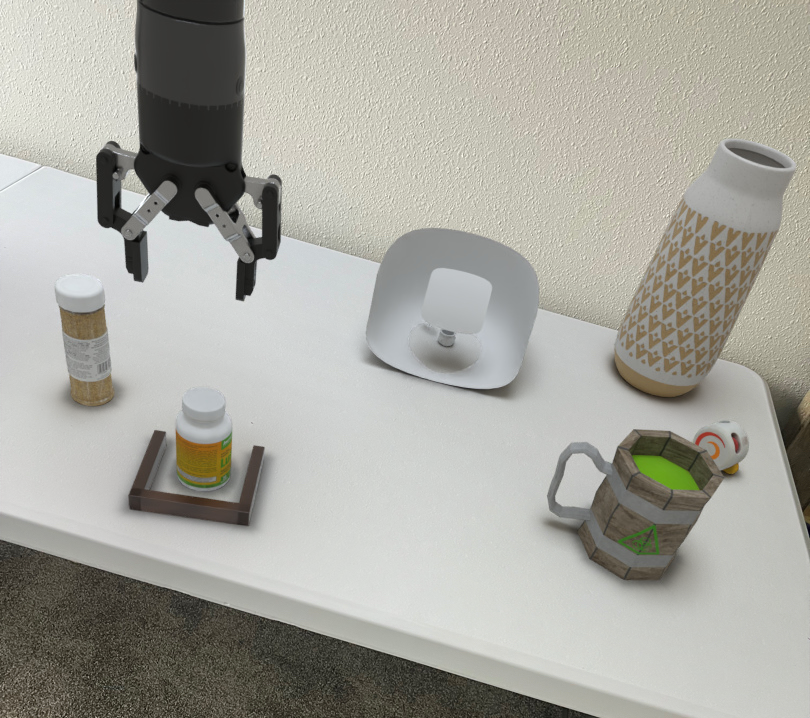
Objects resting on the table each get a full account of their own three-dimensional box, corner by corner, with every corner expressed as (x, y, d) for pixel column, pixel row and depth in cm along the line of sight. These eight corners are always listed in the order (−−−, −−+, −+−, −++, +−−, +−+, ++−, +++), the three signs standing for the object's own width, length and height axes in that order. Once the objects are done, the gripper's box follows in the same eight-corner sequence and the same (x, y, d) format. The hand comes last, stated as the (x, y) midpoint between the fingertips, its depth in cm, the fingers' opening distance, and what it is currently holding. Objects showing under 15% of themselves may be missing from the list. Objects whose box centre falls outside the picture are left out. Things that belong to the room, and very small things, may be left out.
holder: (129, 510, 75) (128, 495, 74) (155, 444, 82) (154, 429, 81) (248, 527, 76) (249, 512, 75) (263, 460, 84) (264, 446, 82)
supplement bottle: (228, 495, 79) (231, 419, 72) (173, 491, 78) (171, 413, 71) (232, 460, 83) (235, 384, 76) (179, 456, 82) (178, 378, 75)
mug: (672, 527, 88) (721, 445, 80) (674, 596, 81) (728, 513, 72) (538, 488, 89) (573, 402, 80) (527, 552, 81) (564, 465, 73)
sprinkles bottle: (95, 378, 88) (82, 267, 79) (123, 397, 87) (114, 286, 77) (61, 394, 85) (43, 280, 76) (89, 413, 84) (75, 300, 74)
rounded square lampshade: (520, 329, 114) (545, 252, 105) (510, 402, 100) (537, 320, 92) (387, 294, 114) (401, 214, 105) (358, 363, 100) (372, 277, 92)
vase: (587, 350, 113) (678, 125, 91) (666, 349, 117) (769, 134, 96) (634, 409, 104) (746, 175, 83) (716, 404, 109) (842, 182, 87)
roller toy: (703, 443, 101) (724, 407, 97) (741, 474, 98) (764, 438, 94) (681, 452, 99) (702, 415, 95) (719, 483, 96) (742, 446, 92)
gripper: (297, 86, 59) (280, 282, 71) (105, 43, 58) (119, 251, 69) (283, 120, 54) (267, 325, 66) (71, 73, 52) (93, 292, 64)
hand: (191, 287), depth 67 cm, fingers open, 8 cm apart
